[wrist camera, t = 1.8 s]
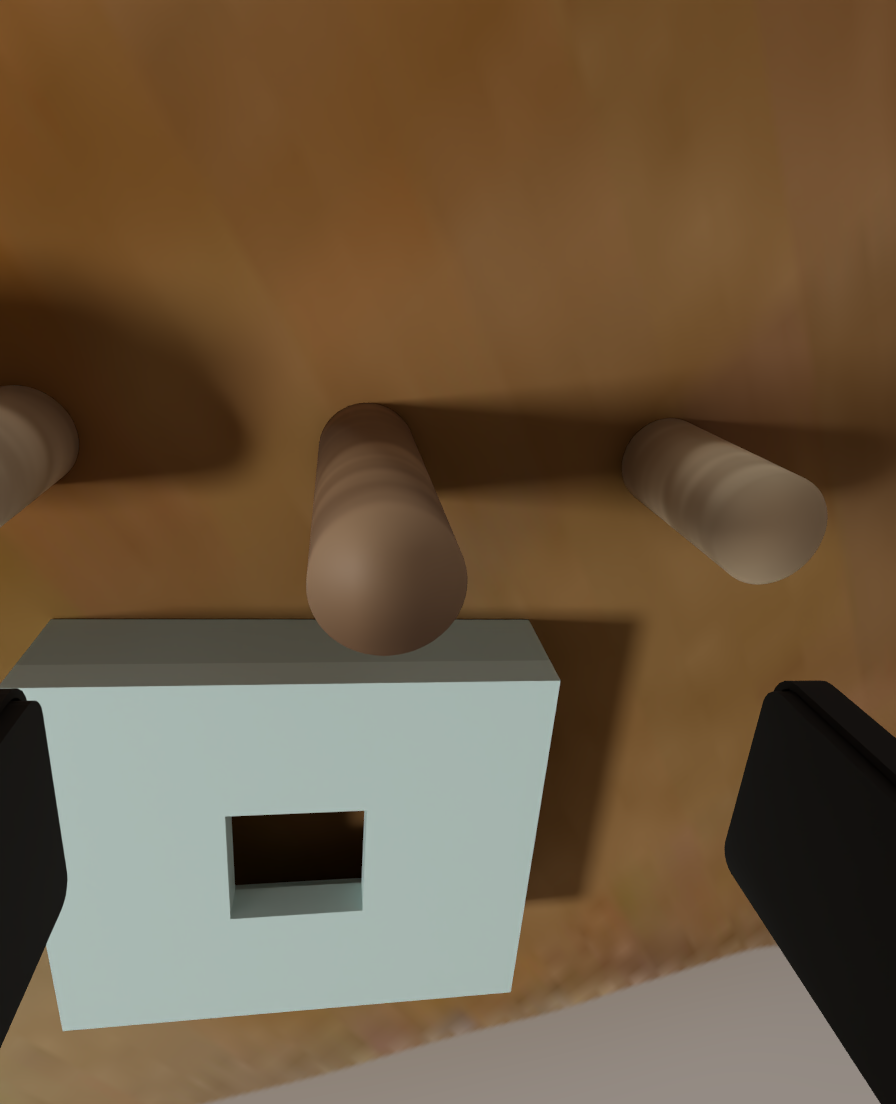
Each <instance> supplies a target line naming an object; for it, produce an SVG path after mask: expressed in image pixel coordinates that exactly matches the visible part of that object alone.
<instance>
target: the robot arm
mask: <svg viewBox="0 0 896 1104" xmlns="http://www.w3.org/2000/svg"><path fill="white" fill-rule="evenodd" d="M725 857H726V862H727V865H728V868H729V870H730V872H731V874H732V875H733V877H734V878H735V880H736V881H737V883H738V884H739V886H740V888H741V889H742V891H743V892H744V894H745V895H746V897H747V898H748V900H749V901H750V903H751V904H752V906H753V908H754V909H755V911H756V912H757V914H758V915H759V917H760V918H761V920H762V921H763V923H764V925H765V926H766V928H767V929H768V931H769V932H770V934H771V935H772V937H773V938H774V940H775V941H776V943H777V945H778V946H779V948H780V949H781V951H782V952H783V954H784V955H785V957H786V958H787V960H788V961H789V963H790V965H791V966H792V968H793V969H794V971H795V972H796V974H797V975H798V977H799V978H800V980H801V982H802V983H803V985H804V986H805V988H806V989H807V991H808V992H809V994H810V995H811V997H812V998H813V1000H814V1002H815V1003H816V1005H817V1006H818V1008H819V1009H820V1011H821V1012H822V1014H823V1015H824V1017H825V1018H826V1020H827V1022H828V1023H829V1024H830V1026H831V1028H832V1029H833V1031H834V1032H835V1034H836V1035H837V1037H838V1039H839V1040H840V1042H841V1043H842V1045H843V1046H844V1048H845V1049H846V1051H847V1052H848V1054H849V1056H850V1057H851V1059H852V1060H853V1062H854V1063H855V1064H856V1066H857V1068H858V1069H859V1071H860V1072H861V1074H862V1076H863V1077H864V1079H865V1080H866V1081H867V1083H868V1085H869V1086H870V1088H871V1089H872V1091H873V1092H874V1094H875V1096H876V1097H877V1098H878V1100H879V1102H880V1103H881V1104H896V738H895V737H894V736H892V735H891V734H890V733H889V732H888V731H887V730H885V729H884V728H883V727H882V726H881V725H879V724H878V723H877V722H876V721H875V720H873V719H872V718H871V717H870V716H869V715H867V714H866V713H865V712H864V711H863V710H861V709H860V708H859V707H858V706H857V705H855V704H854V703H853V702H852V701H851V700H850V699H848V698H847V697H846V696H845V695H844V694H842V693H841V692H840V691H839V690H838V689H836V688H835V687H834V686H833V685H831V684H830V683H828V682H826V681H784V682H781V683H779V684H778V685H777V687H776V688H775V690H774V692H770V693H768V694H767V696H766V697H765V699H764V701H763V705H762V708H761V712H760V716H759V719H758V723H757V727H756V730H755V734H754V738H753V741H752V745H751V749H750V753H749V756H748V760H747V764H746V767H745V771H744V775H743V778H742V782H741V786H740V790H739V793H738V797H737V801H736V804H735V808H734V812H733V815H732V819H731V823H730V827H729V830H728V834H727V838H726V841H725ZM67 881H68V878H67V869H66V862H65V855H64V849H63V842H62V836H61V829H60V823H59V816H58V809H57V803H56V796H55V790H54V783H53V776H52V770H51V763H50V757H49V750H48V744H47V737H46V730H45V724H44V717H43V712H42V708H41V705H40V704H39V702H37V701H27V699H26V696H25V695H24V693H23V691H22V690H20V689H18V688H10V689H0V1048H1V1045H2V1043H3V1041H4V1039H5V1036H6V1034H7V1032H8V1030H9V1027H10V1025H11V1023H12V1020H13V1018H14V1016H15V1014H16V1011H17V1009H18V1007H19V1005H20V1002H21V1000H22V998H23V996H24V993H25V991H26V989H27V987H28V984H29V982H30V980H31V978H32V975H33V973H34V971H35V969H36V966H37V964H38V962H39V960H40V957H41V955H42V953H43V951H44V948H45V946H46V944H47V941H48V939H49V937H50V935H51V932H52V930H53V928H54V926H55V923H56V921H57V919H58V917H59V914H60V912H61V910H62V907H63V904H64V901H65V897H66V891H67Z"/></svg>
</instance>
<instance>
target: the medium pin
mask: <svg viewBox="0 0 896 1104" xmlns="http://www.w3.org/2000/svg"><path fill="white" fill-rule="evenodd" d="M622 477H623V481H624V483H625V485H626V487H627V489H628V490H629V492H630V493H631V494H632V495H633V496H634V497H636V498H637V499H638V500H639V501H641V502H642V503H643V504H644V505H645V506H647V507H648V508H649V509H650V510H652V511H653V512H654V513H655V514H656V515H658V516H659V517H660V518H661V519H663V520H664V521H665V522H666V523H667V524H669V525H670V526H671V527H672V528H674V529H675V530H676V531H677V532H678V533H680V534H681V535H682V536H683V537H685V538H686V539H687V540H688V541H690V542H691V543H692V544H693V545H694V546H696V547H697V548H698V549H699V550H701V551H702V552H703V553H704V554H705V555H707V556H708V557H709V558H710V559H712V560H713V561H714V562H715V563H716V564H718V565H719V566H720V567H721V568H723V569H724V570H725V571H726V572H728V573H729V574H730V575H731V576H732V577H734V578H736V579H737V580H740V581H742V582H745V583H750V584H767V583H772V582H775V581H779V580H781V579H783V578H786V577H788V576H789V575H791V574H793V573H794V572H796V571H797V570H799V569H800V568H801V567H802V566H803V565H805V564H806V562H807V561H808V560H809V559H810V558H811V557H812V556H813V554H814V553H815V552H816V550H817V548H818V547H819V545H820V543H821V541H822V539H823V536H824V533H825V530H826V526H827V507H826V503H825V500H824V497H823V495H822V493H821V492H820V490H819V489H818V488H817V487H816V486H815V485H814V484H813V483H812V482H810V481H809V480H807V479H805V478H803V477H801V476H799V475H797V474H795V473H793V472H791V471H788V470H786V469H784V468H782V467H780V466H778V465H776V464H774V463H772V462H770V461H768V460H766V459H764V458H761V457H759V456H757V455H755V454H753V453H751V452H749V451H747V450H745V449H743V448H741V447H739V446H736V445H734V444H732V443H730V442H728V441H726V440H724V439H722V438H720V437H718V436H716V435H714V434H711V433H709V432H707V431H705V430H703V429H701V428H699V427H697V426H695V425H693V424H691V423H689V422H686V421H684V420H681V419H676V418H666V419H660V420H657V421H654V422H652V423H650V424H648V425H646V426H645V427H643V428H642V429H641V430H640V431H639V432H637V433H636V434H635V436H634V437H633V438H632V439H631V441H630V442H629V444H628V446H627V448H626V450H625V452H624V455H623V459H622Z"/></svg>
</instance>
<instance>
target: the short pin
mask: <svg viewBox="0 0 896 1104" xmlns="http://www.w3.org/2000/svg"><path fill="white" fill-rule="evenodd" d="M78 451H79V438H78V433H77V430H76V427H75V424H74V422H73V420H72V419H71V417H70V416H69V414H68V413H67V411H66V410H65V409H64V408H63V407H62V406H61V405H60V404H59V403H58V402H57V401H56V400H54V399H53V398H52V397H50V396H48V395H47V394H45V393H43V392H41V391H39V390H36V389H33V388H30V387H26V386H19V385H7V386H0V527H1V526H2V525H4V524H5V523H6V522H7V521H9V520H10V519H11V518H12V517H14V516H15V515H16V514H17V513H19V512H20V511H21V510H22V509H24V508H25V507H26V506H27V505H29V504H30V503H31V502H32V501H34V500H35V499H36V498H37V497H39V496H40V495H41V494H42V493H43V492H45V491H46V490H47V489H48V488H50V487H51V486H52V485H53V484H55V483H56V482H57V481H58V480H60V479H61V478H62V477H63V476H65V475H66V474H67V473H68V472H69V471H70V469H71V468H72V467H73V465H74V463H75V461H76V459H77V455H78Z"/></svg>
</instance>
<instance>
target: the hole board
mask: <svg viewBox="0 0 896 1104" xmlns="http://www.w3.org/2000/svg"><path fill="white" fill-rule="evenodd" d="M559 687H560V679H559V677H558V675H557V673H556V671H555V669H554V667H553V665H552V663H551V661H550V660H549V658H548V656H547V654H546V652H545V650H544V648H543V646H542V644H541V642H540V640H539V639H538V637H537V635H536V633H535V631H534V629H533V627H532V625H531V623H530V621H529V620H454V622H453V623H452V624H451V625H450V627H449V628H448V629H447V630H446V631H445V632H444V633H443V634H442V635H441V636H439V637H438V638H437V639H435V640H434V641H433V642H431V643H429V644H427V645H426V646H424V647H422V648H419V649H417V650H415V651H411V652H408V653H405V654H399V655H391V656H376V655H369V654H364V653H360V652H357V651H354V650H352V649H349V648H347V647H345V646H343V645H341V644H340V643H338V642H337V641H335V640H334V639H333V638H331V637H330V636H329V635H328V634H327V633H326V632H325V631H324V630H323V629H322V628H321V626H320V625H319V624H318V622H317V621H316V620H296V619H51V620H50V621H49V622H48V624H47V625H46V626H45V628H44V629H43V630H42V631H41V633H40V634H39V635H38V637H37V638H36V639H35V640H34V642H33V643H32V644H31V646H30V647H29V648H28V649H27V651H26V652H25V653H24V654H23V656H22V657H21V658H20V660H19V661H18V662H17V663H16V665H15V666H14V667H13V669H12V670H11V671H10V672H9V674H8V675H7V676H6V677H5V679H4V680H3V681H2V683H1V684H0V689H10V688H18V689H20V690H22V691H23V693H24V695H25V696H26V699H27V701H37V702H39V704H40V705H41V708H42V712H43V717H44V724H45V730H46V737H47V744H48V750H49V757H50V763H51V770H52V776H53V783H54V790H55V796H56V803H57V809H58V816H59V823H60V829H61V836H62V842H63V849H64V855H65V862H66V869H67V878H68V881H67V891H66V897H65V901H64V904H63V907H62V910H61V912H60V914H59V917H58V919H57V921H56V923H55V926H54V928H53V930H52V932H51V935H50V937H49V939H48V941H47V944H46V946H47V951H48V957H49V962H50V967H51V972H52V977H53V983H54V988H55V993H56V998H57V1003H58V1009H59V1014H60V1019H61V1024H62V1030H63V1031H69V1030H80V1029H92V1028H103V1027H115V1026H126V1025H138V1024H149V1023H161V1022H172V1021H184V1020H195V1019H207V1018H218V1017H230V1016H241V1015H253V1014H264V1013H276V1012H287V1011H299V1010H310V1009H322V1008H333V1007H345V1006H356V1005H368V1004H379V1003H391V1002H402V1001H414V1000H425V999H437V998H448V997H460V996H471V995H483V994H494V993H506V992H511V986H512V980H513V974H514V968H515V961H516V955H517V949H518V943H519V936H520V930H521V924H522V918H523V912H524V905H525V899H526V893H527V887H528V880H529V874H530V868H531V862H532V856H533V849H534V843H535V837H536V831H537V824H538V818H539V812H540V806H541V799H542V793H543V787H544V781H545V775H546V768H547V762H548V756H549V750H550V743H551V737H552V731H553V725H554V718H555V712H556V706H557V700H558V694H559ZM344 811H364V833H363V857H362V878H350V879H332V880H315V881H298V882H281V883H263V884H246V885H235V877H234V856H233V836H232V816H250V815H274V814H297V813H321V812H344Z"/></svg>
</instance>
